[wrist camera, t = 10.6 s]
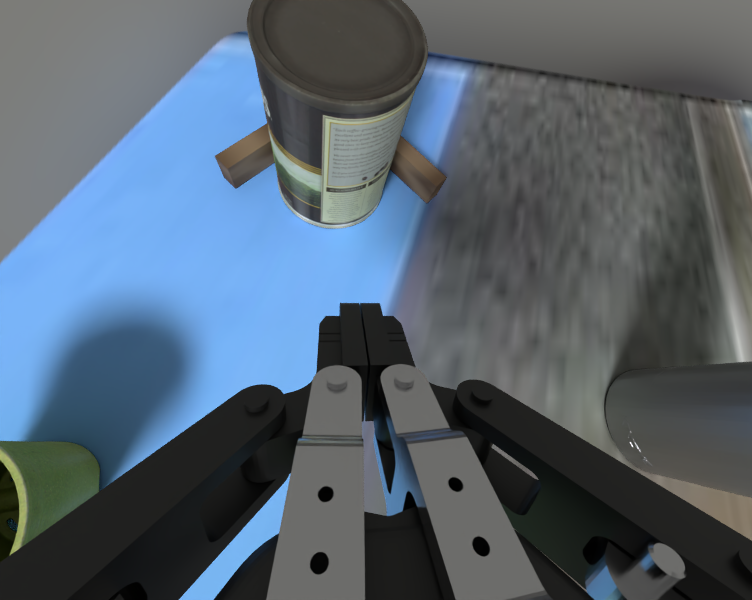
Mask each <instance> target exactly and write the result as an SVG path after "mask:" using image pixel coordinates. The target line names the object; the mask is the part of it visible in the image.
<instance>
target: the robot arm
mask: <svg viewBox="0 0 752 600" xmlns="http://www.w3.org/2000/svg"><path fill="white" fill-rule="evenodd" d="M605 409H606V420H607V424H608V428H609V431H610V434H611V436H612V438H613V441H614V442H615V444H616V446H617V447H618V449H619V450H620V452H621V453H622V454H623V455H624V456H625V457H626V459H627V460H629V461H630V462H631V463H632V464H633V465H635V466H636V467H638V468H640V469H642V470H643V471H645V472H649V473H653V474H657V475H661V476H665V477H669V478H673V479H677V480H681V481H685V482H689V483H694V484H697V485H701V486H705V487H709V488H713V489H717V490H722V491H726V492H730V493H734V494H738V495H742V496H747V497H751V498H752V362H738V363H724V364H710V365H696V366H682V367H666V368H653V369H639V370H632V371H627V372H625V373H623V374H621V375H620V376H619V377H618V378H617V379H615V380H614V382H613V384H612V385H611V387H610V389H609V391H608V394H607V398H606V406H605ZM364 412H365V421H374V428H375V433H374V447H375V452H376V457H377V461H378V466H379V471H380V475H381V480H382V485H383V490H384V494H385V499H386V506H387V516H383V515H378V514H373V513H368V512H364V447H363V439H362V421H364ZM493 444H494V445H496V446H497V447H498V448H500V449H501V450H503V451H504V452H505V453H507V454H508V455H510V456H511V457H512V458H514V459H515V460H517V461H518V462H519V463H521V464H522V465H524V466H525V467H526V468H528V469H529V470H530V471H532V472H533V473H534V474H535V475H536V476H537V478H538V479H539V480H537V479H534V478H533V477H531V476H530V475H528V474H527V473H525V472H524V471H523V470H521V469H520V468H519V467H517V466H516V465H514V464H513V463H512V462H510V461H509V460H508V459H506V458H505V457H503V456H502V455H501V454H499V453H498V452H497V451H495V450H494V449H492V448H491V447H492V445H493ZM290 473H291V476H290V481H289V486H288V491H287V496H286V501H285V506H284V511H283V516H282V522H281V527H280V532H279V534H277V535H275V536H274V537H272V538H271V539H269V540H268V541H266V542H265V543H264V544H263V545H261V546H260V547H259V548H258V549H257V550H255V551H254V552H253V553H252V554H251V555H250V556H249V557H248V558H247V559H246V560H245V561H244V562H243V564H242V565H241V566H240V567H239V568H238V570H237V571H236V572H235V573H234V575H233V576H232V577H231V578H230V580H229V581H228V582H227V583H226V585H225V586H224V587H223V589H222V590H221V591H220V592H219V594H218V595H217V596H216V597H215V599H214V600H752V541H751V540H749V539H748V538H746V537H744V536H743V535H741V534H739V533H738V532H736V531H735V530H733V529H731V528H730V527H728V526H726V525H725V524H723V523H721V522H720V521H718V520H716V519H715V518H713V517H711V516H710V515H708V514H706V513H705V512H703V511H701V510H700V509H698V508H696V507H695V506H693V505H691V504H690V503H688V502H686V501H685V500H683V499H681V498H680V497H678V496H676V495H675V494H673V493H671V492H670V491H668V490H666V489H665V488H663V487H661V486H660V485H658V484H656V483H655V482H653V481H651V480H650V479H648V478H646V477H645V476H643V475H641V474H640V473H638V472H636V471H635V470H633V469H631V468H630V467H628V466H626V465H625V464H623V463H621V462H620V461H618V460H616V459H615V458H613V457H611V456H610V455H608V454H606V453H605V452H603V451H601V450H600V449H598V448H596V447H595V446H593V445H591V444H590V443H588V442H586V441H585V440H583V439H581V438H580V437H578V436H576V435H575V434H573V433H571V432H570V431H568V430H566V429H565V428H563V427H561V426H560V425H558V424H556V423H555V422H553V421H551V420H550V419H548V418H546V417H545V416H543V415H541V414H540V413H538V412H536V411H535V410H533V409H531V408H530V407H528V406H526V405H525V404H523V403H521V402H520V401H518V400H516V399H515V398H513V397H511V396H510V395H508V394H506V393H505V392H503V391H501V390H500V389H498V388H496V387H495V386H493V385H491V384H489V383H487V382H484V381H481V380H466V381H464V382H462V383H460V384H459V385H458V387H457V390H453V389H449V388H444V387H440V386H436V385H434V384H431V383H430V382H428V380H427V378H426V376H425V375H424V374H423V372H421V371H420V370H419V369H417V368H416V367H415V364H414V361H413V358H412V355H411V352H410V349H409V346H408V343H407V342H406V337H405V334H404V331H403V328H402V325H401V323H400V322H399V321H398V320H397V319H396V318H395V317H394V316H383V314H382V310H381V306H380V303H360V305H359V303H340V315H339V316H325V318H324V319H323V320H322V321H321V323H320V325H319V343H318V358H317V372H316V375H315V376H314V378H313V380H312V381H311V383H309V384H308V385H307V386H305V387H304V388H302V389H299V390H297V391H294V392H290V393H286V394H283V393H282V391H281V390H280V389H278V388H276V387H274V386H271V385H263V384H261V385H254V386H250V387H248V388H245V389H243V390H241V391H240V392H238V393H237V394H236V395H234V396H233V397H231V398H230V399H228V400H227V401H226V402H224V403H223V404H221V405H220V406H219V407H217V408H216V409H214V410H213V411H212V412H210V413H209V414H207V415H206V416H205V417H203V418H202V419H200V420H199V421H198V422H196V423H195V424H193V425H192V426H191V427H189V428H188V429H186V430H185V431H184V432H182V433H181V434H179V435H178V436H177V437H175V438H174V439H172V440H171V441H170V442H168V443H167V444H165V445H164V446H163V447H161V448H160V449H158V450H157V451H156V452H154V453H153V454H151V455H150V456H149V457H147V458H146V459H144V460H143V461H142V462H140V463H139V464H137V465H136V466H134V467H133V468H132V469H130V470H129V471H127V472H126V473H125V474H123V475H122V476H120V477H119V478H118V479H116V480H115V481H113V482H112V483H111V484H109V485H108V486H106V487H105V488H104V489H102V490H101V491H99V492H98V493H97V494H95V495H94V496H92V497H91V498H90V499H88V500H87V501H85V502H84V503H83V504H81V505H80V506H78V507H77V508H76V509H74V510H73V511H71V512H70V513H69V514H67V515H66V516H64V517H63V518H62V519H60V520H59V521H57V522H56V523H55V524H53V525H52V526H50V527H49V528H48V529H46V530H45V531H43V532H42V533H40V534H39V535H38V536H36V537H35V538H33V539H32V540H31V541H29V542H28V543H26V544H25V545H24V546H22V547H21V548H19V549H18V550H17V551H15V552H14V553H12V554H11V555H10V556H8V557H7V558H5V559H4V560H3V561H1V562H0V600H179V599H180V598H181V596H182V595H183V594H184V593H185V592H186V591H187V590H188V589H189V588H190V587H191V585H192V584H193V583H194V582H195V581H196V580H197V579H198V578H199V577H200V575H201V574H202V573H203V572H204V571H205V570H206V569H207V568H208V567H209V565H210V564H211V563H212V562H213V561H214V560H215V559H216V558H217V557H218V555H219V554H220V553H221V552H222V551H223V550H224V549H225V548H226V547H227V545H228V544H229V543H230V542H231V541H232V540H233V539H234V538H235V537H236V536H237V534H238V533H239V532H240V531H241V530H242V529H243V528H244V527H245V526H246V524H247V523H248V522H249V521H250V520H251V519H252V518H253V517H254V516H255V514H256V513H257V512H258V511H259V510H260V509H261V508H262V507H263V506H264V504H265V503H266V502H267V501H268V500H269V499H270V498H271V497H272V496H273V494H274V493H275V492H276V491H277V490H278V489H279V488H280V487H281V486H282V484H283V483H284V482H285V481H286V479H287V478H288V476H289V474H290ZM513 528H514V529H513ZM515 529H516V530H517V531H518V532H517V531H516V530H515ZM536 547H537V548H538V549H537V548H536ZM542 552H543V553H544V554H545V555H546V556H547V557H546V556H545V555H544V554H543V553H542ZM549 558H550V559H551V560H552V561H553V562H554V563H555V564H557V565H558V566H559V567H560V568H561V569H563V570H564V571H565V572H566V573H567V574H568V575H570V576H571V577H572V578H573V579H574V580H575V581H577V582H578V583H579V584H580V585H581V586H582V587H584V588H585V589H586V590H587V592H586V591H584V590H583V589H582V588H581V587H580V586H579V585H578V584H577V583H575V582H574V581H573V580H572V579H571V578H570V577H569V576H568V575H567V574H565V573H564V572H563V571H562V570H561V569H560V568H559V567H558V566H556V565H555V564H554V563H553V562H552V561H551V560H550V559H549Z"/></svg>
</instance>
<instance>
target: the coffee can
mask: <svg viewBox="0 0 752 600" xmlns="http://www.w3.org/2000/svg"><path fill="white" fill-rule="evenodd" d="M247 30H248V37H249V41H250V45H251V48H252V51H253V54H254V57H255V62H256V67H257V72H258V77H259V82H260V88H261V93H262V98H263V104H264V109H265V114H266V119H267V123H268V129H269V134H270V140H271V145H272V150H273V155H274V160H275V166H276V171H277V177H278V187H279V191H280V194H281V196H282V198H283V200H284V202H285V204H286V205H287V206H288V208H289V209H290V210H291V211H292V212H293V213H294V214H295V215H297V216H298V217H299V218H301V219H302V220H304V221H306V222H308V223H310V224H312V225H315V226H319V227H323V228H332V229H338V228H346V227H350V226H353V225H356V224H358V223H360V222H362V221H364V220H365V219H366V218H368V217H369V216H370V215H371V214H372V213H373V212H374V210H375V209H376V208H377V206H378V204H379V202H380V199H381V196H382V192H383V187H384V184H385V181H386V178H387V175H388V172H389V169H390V166H391V163H392V160H393V156H394V154H395V150H396V147H397V144H398V141H399V138H400V135H401V132H402V129H403V126H404V123H405V120H406V117H407V114H408V111H409V107H410V104H411V101H412V98H413V95H414V92H415V89H416V86H417V85H418V83H419V81H420V79H421V77H422V74H423V72H424V69H425V66H426V62H427V57H428V46H427V40H426V36H425V33H424V30H423V28H422V26H421V24H420V22H419V20H418V19H417V17H416V16H415V15H414V13H413V12H412V10H411V9H410V8H409V7H408V6H407V5H406V4H405V3H404V2H403V1H402V0H253V1H252V3H251V6H250V8H249V12H248V17H247Z"/></svg>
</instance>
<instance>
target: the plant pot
mask: <svg viewBox="0 0 752 600" xmlns="http://www.w3.org/2000/svg"><path fill="white" fill-rule="evenodd" d="M99 474H100V467H99V464H98V462H97V460H96V458H95V457H94V455H93V454H92V453H91V452H90V451H89V450H87V449H86V448H84V447H82V446H80V445H78V444H75V443H71V442H53V441H46V442H27V441H0V562H1V561H3V560H4V559H5V558H7V557H8V556H10V555H11V554H12V553H14V552H15V551H17V550H18V549H19V548H21V547H22V546H24V545H25V544H26V543H28V542H29V541H31V540H32V539H33V538H35V537H36V536H38V535H39V534H40V533H42V532H43V531H45V530H46V529H48V528H49V527H50V526H52V525H53V524H55V523H56V522H57V521H59V520H60V519H62V518H63V517H64V516H66V515H67V514H69V513H70V512H71V511H73V510H74V509H76V508H77V507H78V506H80V505H81V504H83V503H84V502H85V501H87V500H88V499H90V498H91V497H92V496H94V495H95V494H97V493H98V492H99ZM11 476H12V478H13V482H11ZM9 518H11V519H13V520H14V522H15V523H16V524H17V525H18V528H17V532H15V531H13V530H12V529H11V528H10V527H9V526H8V523H7V520H8V519H9Z"/></svg>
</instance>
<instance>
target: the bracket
mask: <svg viewBox="0 0 752 600" xmlns="http://www.w3.org/2000/svg"><path fill="white" fill-rule="evenodd" d="M215 158H216V160H217V162H218V165H219V167H220V169H221V171H222V174H223V176H224V178H225V179H226V180H227V181H228V182H229V183H230V184H231V185H232V186H233V187H234V188H235V189H236V188H238V187H239V186H241V185H242V184H244V183H245V182H246V181H248V180H249V179H251V178H252V177H254V176H255V175H257V174H258V173H260V172H261V171H263V170H264V169H266V168H267V167H269V166H270V165H271V164H273V163H274V162H275V160H274V155H273V150H272V145H271V140H270V134H269V129H268V123H267V124H265V125H264V126H262V127H261V128H259V129H257V130H256V131H254V132H253V133H251V134H249V135H248V136H246V137H245V138H243V139H241V140H240V141H238V142H237V143H235V144H233V145H232V146H230V147H229V148H227V149H225V150H224V151H222V152H221V153H219V154H217V155H216V156H215ZM390 170H391V171H392V172H393V173H395V174H396V175H397V176H398V177H399V178H400V179H401V180H402V181H403V182H404V183H405V184H406V185H407V186H409V187H410V188H411V189H412V190H413V191H414V192H415V193H416V194H417V195H418V196H419V197H420V198H421V199H423V200H424V201H425V202H426V203H428V202H429V201H430V200H431V199H432V198H433V197H435V196H436V195H437V193H438V191H439V190H440V188H441V186H442V185H443V183H444V181H445V180H446V178H447V177H446V176H445V175H443V174H442V173H441V172H440V171H439V170H438V169H437V168H436V167H435V166H434V165H433V164H431V163H430V162H429V161H428V160H427V159H426V158H425V157H424V156H423V155H422V154H421V153H419V152H418V151H417V150H416V149H415V148H414V147H413V146H412V145H411V144H410V143H408V142H407V141H406V140H405V139H404V138H403V137H402V136H401V135H400V138H399V141H398V144H397V147H396V150H395V154H394V156H393V160H392V163H391V166H390Z"/></svg>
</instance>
